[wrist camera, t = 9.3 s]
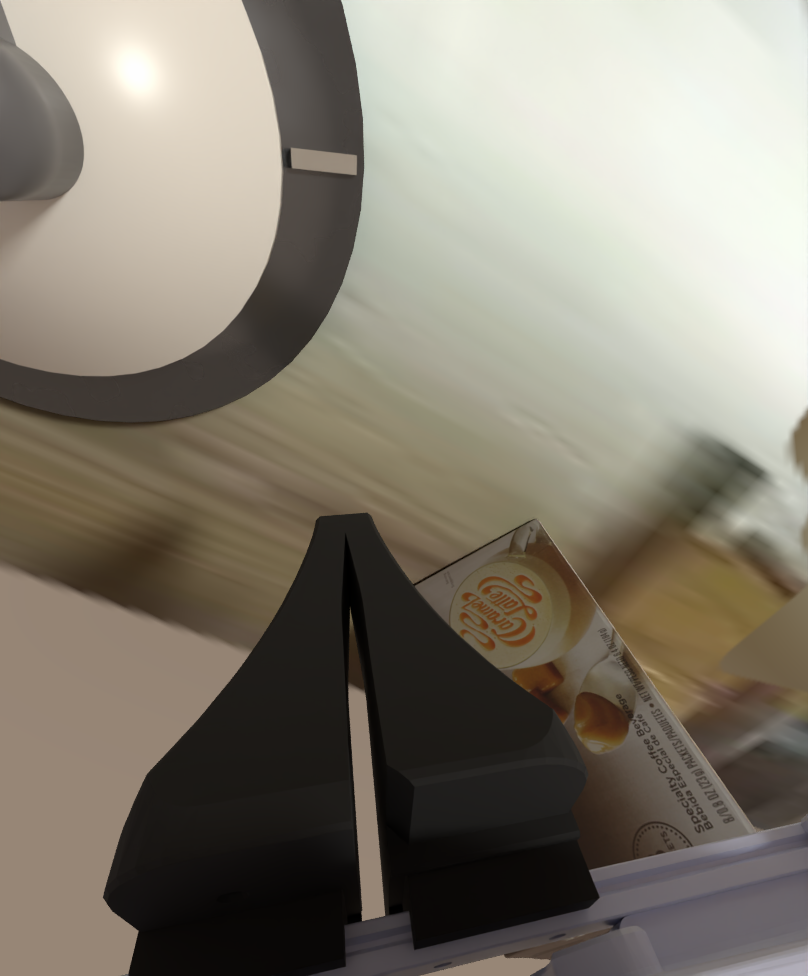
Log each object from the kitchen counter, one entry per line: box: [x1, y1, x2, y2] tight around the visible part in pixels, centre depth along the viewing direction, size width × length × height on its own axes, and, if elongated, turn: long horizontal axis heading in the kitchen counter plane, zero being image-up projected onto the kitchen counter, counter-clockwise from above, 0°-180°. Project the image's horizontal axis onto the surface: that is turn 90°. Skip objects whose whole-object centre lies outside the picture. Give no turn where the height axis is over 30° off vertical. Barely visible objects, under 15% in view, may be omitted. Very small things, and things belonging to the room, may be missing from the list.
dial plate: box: [0, 0, 364, 422], centre depth 12 cm, size 18×18×1 cm
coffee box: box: [415, 519, 757, 960], centre depth 21 cm, size 9×6×16 cm
